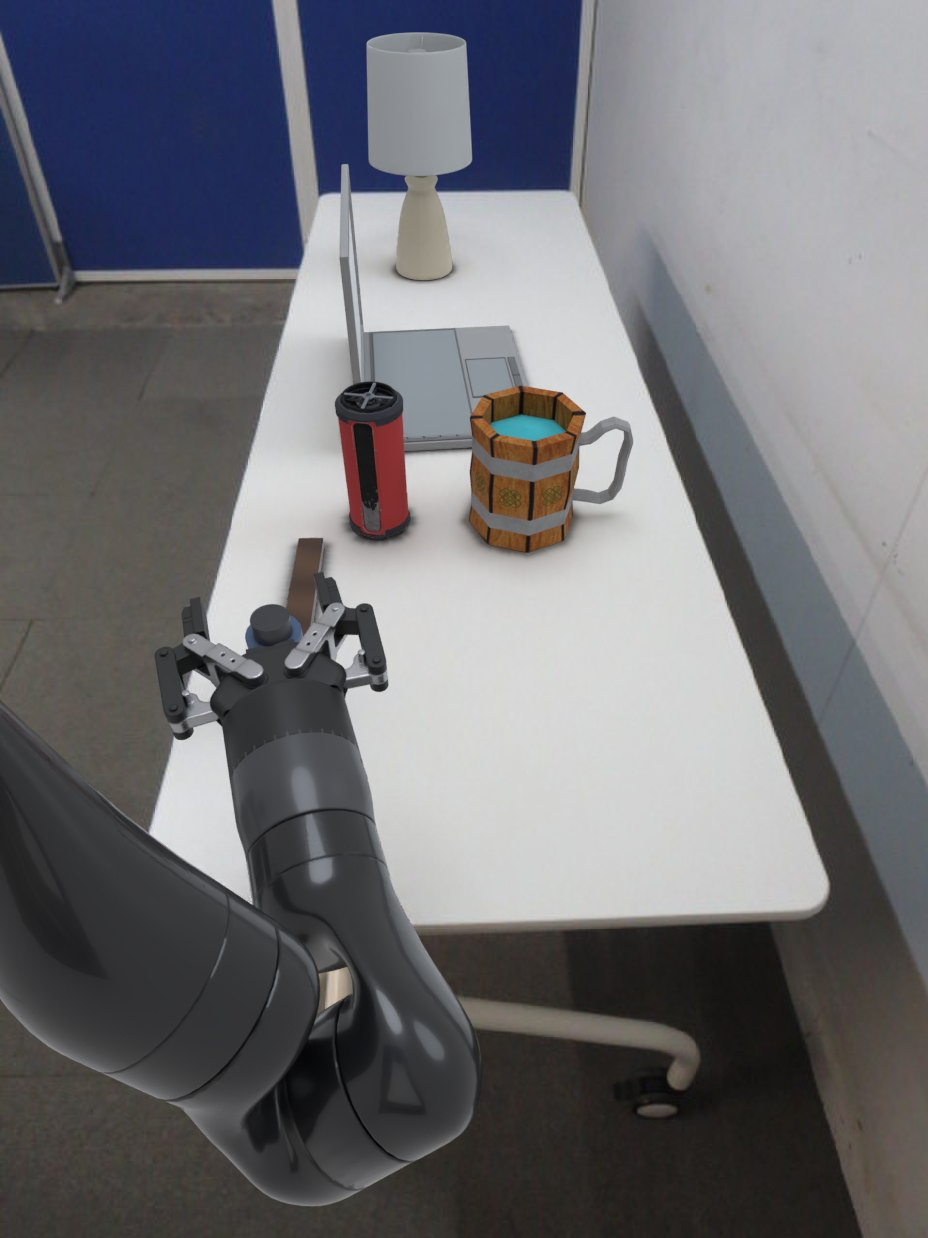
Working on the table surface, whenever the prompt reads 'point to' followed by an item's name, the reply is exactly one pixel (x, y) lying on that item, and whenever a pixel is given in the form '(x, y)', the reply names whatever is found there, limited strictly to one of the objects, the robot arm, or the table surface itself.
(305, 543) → the walnut strip
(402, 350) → the laptop
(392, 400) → the speaker
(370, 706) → the table surface
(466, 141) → the lamp
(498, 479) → the mug
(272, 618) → the water bottle
